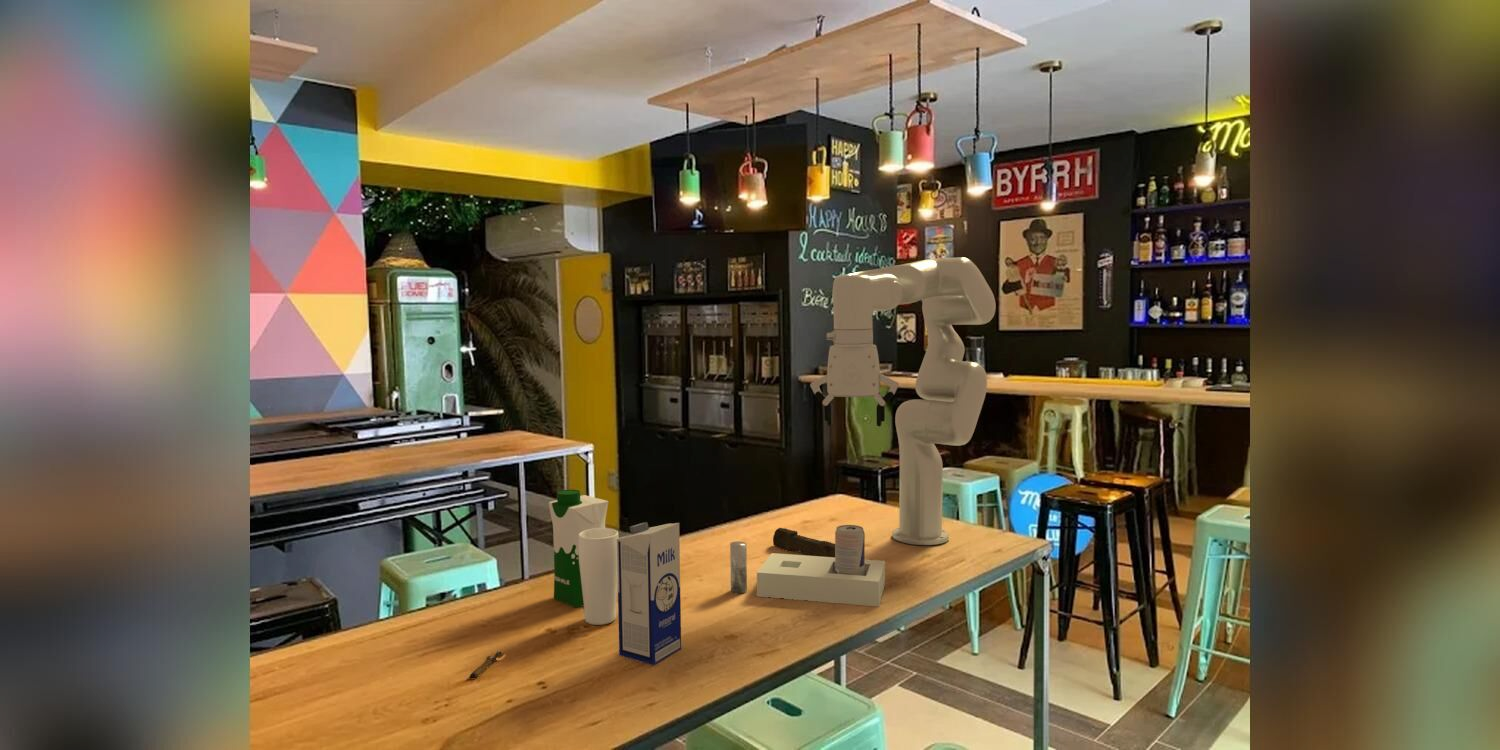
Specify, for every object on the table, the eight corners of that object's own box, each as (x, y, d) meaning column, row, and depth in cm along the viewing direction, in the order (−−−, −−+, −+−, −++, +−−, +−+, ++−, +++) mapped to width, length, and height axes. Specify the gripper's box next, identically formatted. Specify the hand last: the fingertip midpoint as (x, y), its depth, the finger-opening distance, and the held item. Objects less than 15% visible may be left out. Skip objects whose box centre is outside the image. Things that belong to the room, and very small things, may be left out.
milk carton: (653, 665, 118) (650, 532, 117) (618, 655, 122) (615, 526, 120) (682, 648, 124) (680, 521, 123) (648, 639, 128) (645, 515, 126)
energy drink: (866, 589, 150) (867, 525, 149) (861, 598, 145) (861, 533, 144) (838, 586, 152) (838, 523, 151) (832, 595, 147) (832, 530, 146)
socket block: (772, 575, 158) (771, 553, 158) (885, 584, 153) (885, 560, 152) (757, 596, 147) (756, 572, 146) (878, 606, 141) (878, 581, 141)
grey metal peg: (733, 587, 151) (732, 540, 151) (748, 589, 151) (748, 541, 150) (728, 593, 149) (728, 545, 148) (744, 594, 148) (744, 546, 147)
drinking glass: (586, 631, 132) (584, 541, 130) (575, 617, 137) (573, 531, 136) (626, 623, 135) (624, 535, 133) (613, 610, 141) (611, 525, 139)
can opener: (475, 681, 114) (475, 673, 114) (461, 680, 115) (461, 672, 115) (510, 655, 123) (510, 648, 123) (497, 654, 124) (496, 647, 124)
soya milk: (546, 598, 146) (543, 490, 145) (587, 586, 153) (585, 482, 151) (574, 610, 140) (571, 498, 139) (616, 597, 147) (613, 489, 146)
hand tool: (849, 561, 167) (849, 539, 167) (837, 566, 164) (837, 544, 164) (781, 544, 181) (781, 524, 180) (769, 548, 178) (769, 527, 177)
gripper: (806, 340, 156) (808, 427, 158) (897, 339, 152) (897, 428, 153) (812, 337, 163) (814, 421, 165) (899, 336, 159) (900, 422, 161)
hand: (854, 424), depth 159 cm, fingers open, 9 cm apart
